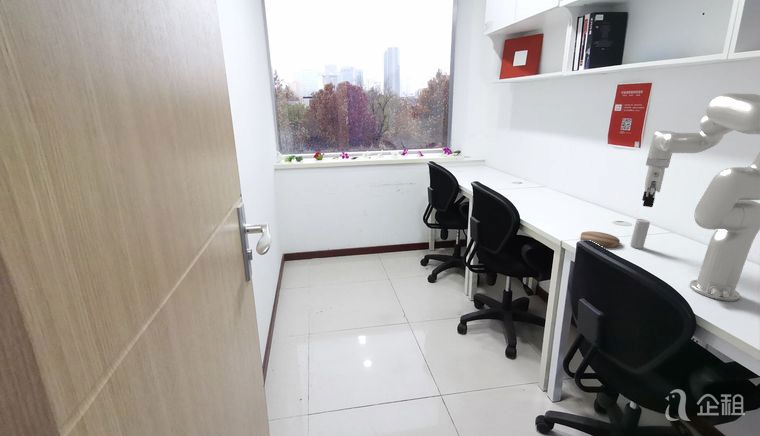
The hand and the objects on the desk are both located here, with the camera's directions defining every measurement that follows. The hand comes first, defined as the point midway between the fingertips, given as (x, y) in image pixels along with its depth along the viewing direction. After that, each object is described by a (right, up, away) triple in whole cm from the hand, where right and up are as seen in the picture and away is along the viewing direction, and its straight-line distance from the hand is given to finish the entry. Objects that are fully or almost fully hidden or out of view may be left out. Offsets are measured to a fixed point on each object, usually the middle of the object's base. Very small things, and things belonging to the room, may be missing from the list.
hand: (647, 203), depth 154 cm
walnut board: (-13, -16, +11) cm, 24 cm away
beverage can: (0, -19, +6) cm, 20 cm away
